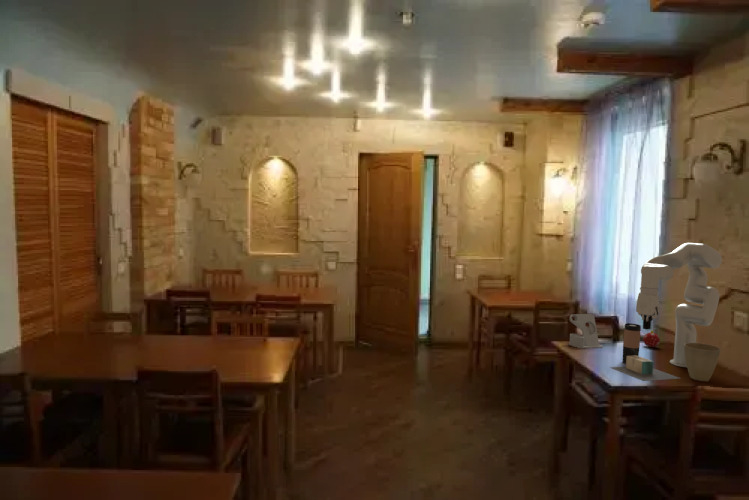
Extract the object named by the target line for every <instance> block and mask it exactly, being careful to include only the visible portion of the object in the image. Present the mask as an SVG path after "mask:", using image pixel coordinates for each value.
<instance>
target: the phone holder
mask: <svg viewBox="0 0 749 500" xmlns="http://www.w3.org/2000/svg"><path fill="white" fill-rule="evenodd" d="M573 318H574V320H573ZM569 322H570V323H571V324H573V325H575V326H576V327H577V328H578V329H579V330H581V334H582V335H581V334H577V333H570V334H569V343H568V345H569V346H572V347H574V348H576V347H577V348H576V349H595V348H596V349H597V348H603V345H601V344H600V342H599V335H598V331H597V330H598V329H597V325H596V319H595V315H594V314H593V313H576V314H575V313H574V314H573V313H572V314H570V316H569ZM587 323H588V324H589V325H588V326H586V324H587Z"/></svg>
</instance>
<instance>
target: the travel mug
mask: <svg viewBox="0 0 749 500" xmlns="http://www.w3.org/2000/svg"><path fill="white" fill-rule="evenodd" d="M641 329H642V325H641V324H637V323H630V322H629V323H627V322H626V323H625V324H624V330H623V341H622V342H623V344H622V345H623V346H622V363H623V364H625V365H626V357H627V356H634V355H637V356H639V355H640V354H639V353H640V343H641V332H642V331H641ZM639 357H640V356H639Z"/></svg>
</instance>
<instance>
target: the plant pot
mask: <svg viewBox="0 0 749 500" xmlns="http://www.w3.org/2000/svg"><path fill="white" fill-rule="evenodd" d="M684 350H685V359H686V364H687V367H686V368H687V371H688V375H689V378H690V379H693V380H695V381H699V382H700V381H701V382H709V381H710V379H711V377H712V375H713V373H714V372H715V369H716V367H717V364H718V360H719V358H720V353H721V351H722V350H721V348H720V347H719V346H716V345H711V344H707V343H700V342H696V343H685V344H684Z"/></svg>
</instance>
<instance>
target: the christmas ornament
mask: <svg viewBox="0 0 749 500" xmlns="http://www.w3.org/2000/svg"><path fill="white" fill-rule="evenodd" d="M642 339H643V341H642V342H643V343H644V345H646V347H649V348H656V347H658V345H659V344H660V342H661V341H660V336H659V335H658V334H657V333H655V332H654V330H653V329H652V330H651V331H650V332H647V333H645V334H644V335H643V338H642Z"/></svg>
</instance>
